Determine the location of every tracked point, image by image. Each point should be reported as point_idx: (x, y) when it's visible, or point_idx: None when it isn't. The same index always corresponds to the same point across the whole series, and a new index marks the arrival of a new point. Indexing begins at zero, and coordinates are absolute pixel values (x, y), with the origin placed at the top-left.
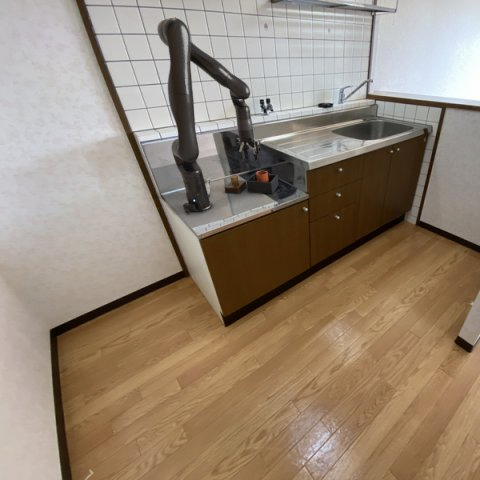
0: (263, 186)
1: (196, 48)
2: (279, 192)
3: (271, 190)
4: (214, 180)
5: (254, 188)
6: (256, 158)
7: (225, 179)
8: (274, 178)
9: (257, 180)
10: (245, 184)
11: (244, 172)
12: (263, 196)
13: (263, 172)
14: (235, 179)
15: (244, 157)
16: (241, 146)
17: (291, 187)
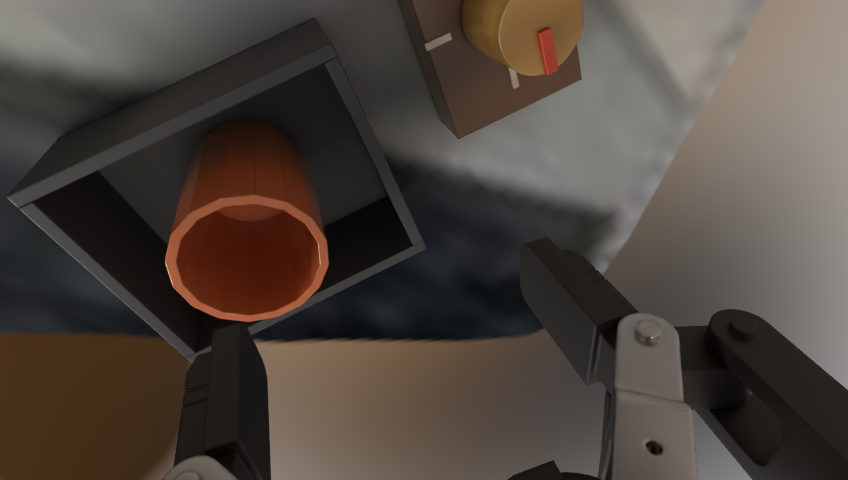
0: (126, 124)
1: None
2: None
3: (51, 150)
4: (750, 28)
5: (240, 62)
6: (202, 381)
7: (674, 100)
8: (120, 297)
9: (261, 159)
10: (441, 110)
11: (607, 267)
12: (65, 27)
13: (285, 292)
14: (493, 4)
15: (527, 289)
16: (665, 463)
17: (67, 332)
